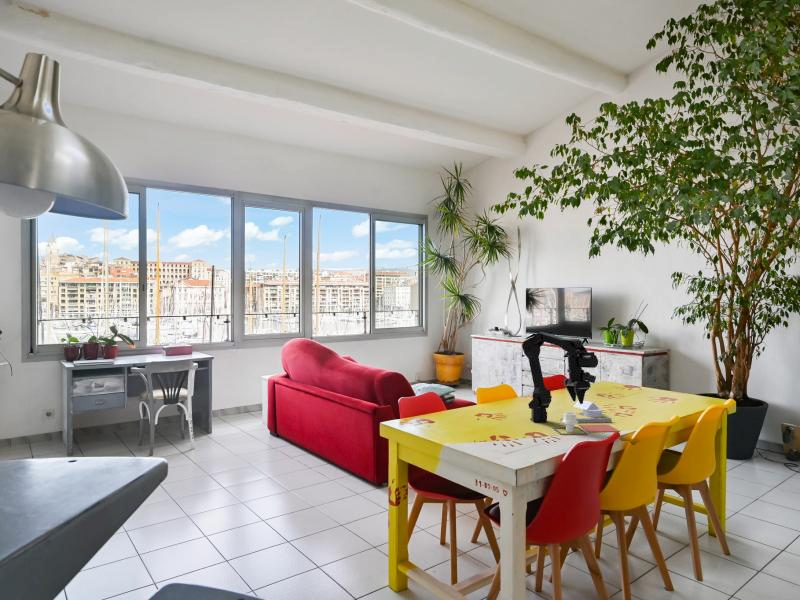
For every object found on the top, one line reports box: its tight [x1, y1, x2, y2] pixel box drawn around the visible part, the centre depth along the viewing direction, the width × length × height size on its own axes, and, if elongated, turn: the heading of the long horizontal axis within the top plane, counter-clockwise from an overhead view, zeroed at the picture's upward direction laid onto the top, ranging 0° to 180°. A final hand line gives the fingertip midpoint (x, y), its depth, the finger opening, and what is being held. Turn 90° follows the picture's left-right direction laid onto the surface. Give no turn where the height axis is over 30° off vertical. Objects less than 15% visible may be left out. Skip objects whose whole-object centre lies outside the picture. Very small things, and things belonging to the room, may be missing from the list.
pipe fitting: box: [561, 411, 579, 433], centre depth 234 cm, size 6×7×8 cm
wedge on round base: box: [572, 399, 603, 418], centre depth 266 cm, size 9×7×13 cm
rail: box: [560, 417, 612, 424], centre depth 251 cm, size 24×2×2 cm, turn 93°
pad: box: [578, 423, 621, 433], centre depth 239 cm, size 14×12×1 cm
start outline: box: [551, 426, 589, 436], centre depth 234 cm, size 12×11×1 cm
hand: (577, 402), depth 234 cm, fingers open, 9 cm apart
